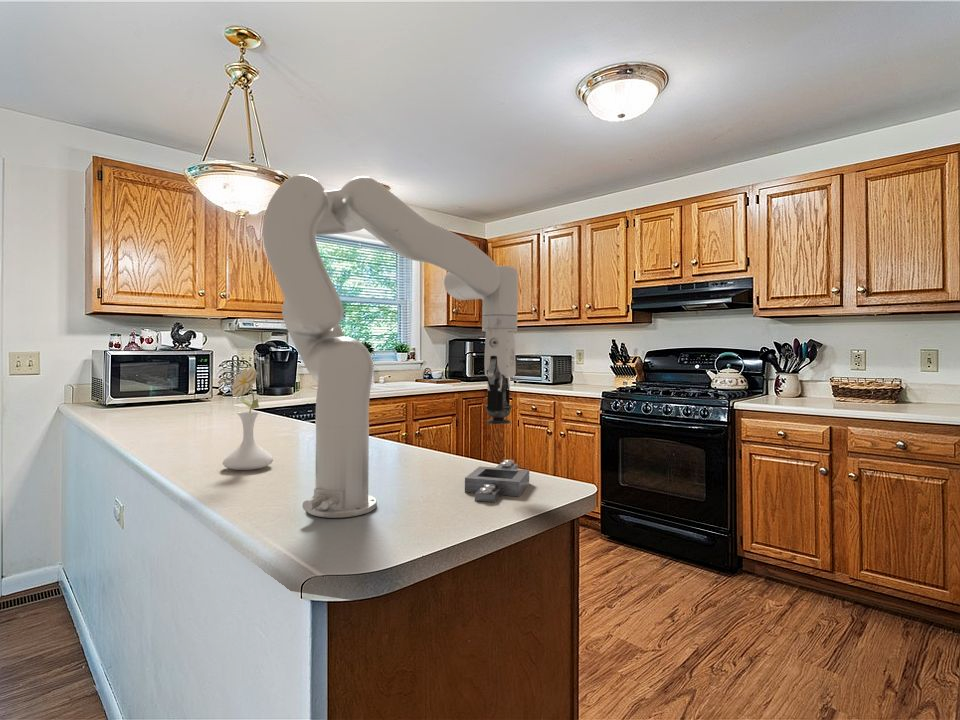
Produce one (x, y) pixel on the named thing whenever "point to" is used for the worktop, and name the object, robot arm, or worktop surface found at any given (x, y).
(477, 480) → the frame
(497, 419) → the salt shaker
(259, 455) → the flower in vase
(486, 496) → the chain end near
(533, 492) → the worktop surface
